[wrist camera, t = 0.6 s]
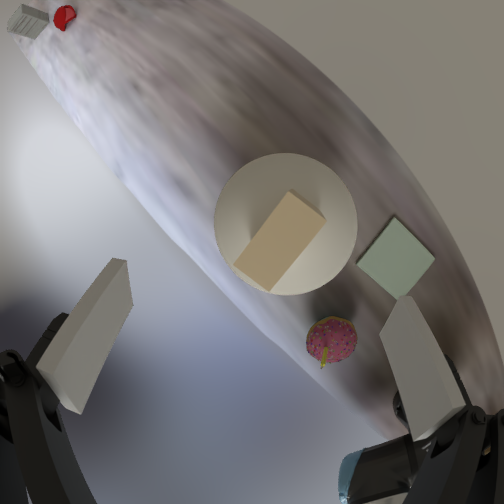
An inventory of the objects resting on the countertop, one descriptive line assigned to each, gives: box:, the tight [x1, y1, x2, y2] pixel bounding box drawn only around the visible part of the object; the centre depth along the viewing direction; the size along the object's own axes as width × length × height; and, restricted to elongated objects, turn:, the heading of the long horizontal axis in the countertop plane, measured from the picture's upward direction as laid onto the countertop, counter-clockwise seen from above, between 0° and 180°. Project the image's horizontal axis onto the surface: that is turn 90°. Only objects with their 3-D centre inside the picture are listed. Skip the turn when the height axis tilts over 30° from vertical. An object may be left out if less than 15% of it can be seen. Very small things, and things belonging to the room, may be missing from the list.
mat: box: [356, 217, 435, 300], centre depth 42 cm, size 11×10×1 cm
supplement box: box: [8, 4, 49, 39], centre depth 34 cm, size 7×7×13 cm
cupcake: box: [306, 316, 357, 369], centre depth 41 cm, size 9×8×12 cm
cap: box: [53, 5, 76, 31], centre depth 37 cm, size 8×6×6 cm
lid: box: [214, 153, 358, 295], centre depth 28 cm, size 17×17×10 cm
